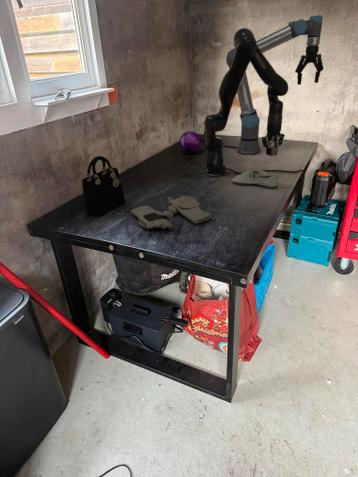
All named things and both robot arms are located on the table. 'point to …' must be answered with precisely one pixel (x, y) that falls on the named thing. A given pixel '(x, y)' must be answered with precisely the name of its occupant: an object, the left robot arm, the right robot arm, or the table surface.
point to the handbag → (102, 188)
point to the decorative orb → (190, 142)
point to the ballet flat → (256, 179)
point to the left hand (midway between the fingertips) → (271, 153)
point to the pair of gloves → (170, 213)
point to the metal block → (273, 150)
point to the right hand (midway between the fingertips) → (307, 83)
